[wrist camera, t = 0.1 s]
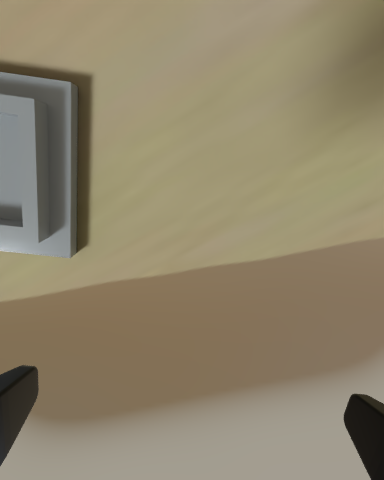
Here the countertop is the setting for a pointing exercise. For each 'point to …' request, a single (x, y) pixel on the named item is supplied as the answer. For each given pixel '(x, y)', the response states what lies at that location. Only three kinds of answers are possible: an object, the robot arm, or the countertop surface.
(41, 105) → the seat dish
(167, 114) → the countertop surface
